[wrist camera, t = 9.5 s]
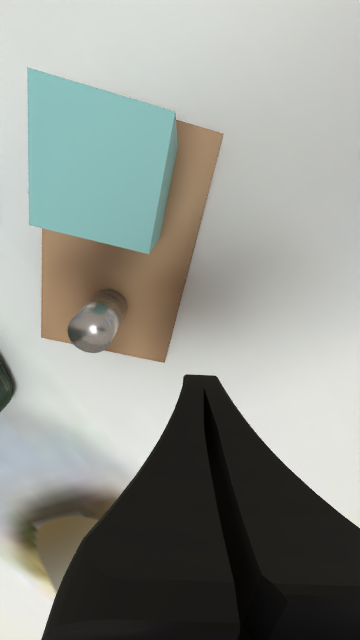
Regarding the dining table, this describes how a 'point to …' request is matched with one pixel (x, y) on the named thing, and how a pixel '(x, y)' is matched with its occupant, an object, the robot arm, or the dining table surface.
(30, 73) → the teal foam brick
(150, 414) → the dining table surface
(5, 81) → the dining table surface
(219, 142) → the stand plate
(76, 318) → the round post
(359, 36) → the dining table surface
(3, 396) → the coffee jar
